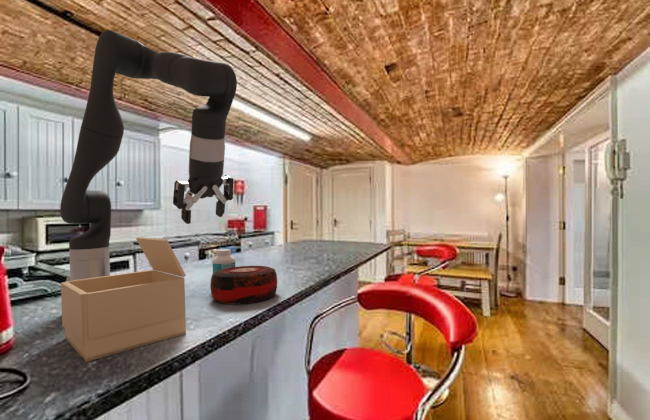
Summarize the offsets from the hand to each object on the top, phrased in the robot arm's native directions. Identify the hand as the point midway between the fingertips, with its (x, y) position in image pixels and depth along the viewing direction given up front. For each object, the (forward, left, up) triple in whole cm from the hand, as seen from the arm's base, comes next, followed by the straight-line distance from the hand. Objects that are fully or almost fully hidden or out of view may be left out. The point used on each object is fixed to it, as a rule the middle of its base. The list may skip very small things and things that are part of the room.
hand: (203, 219), depth 85 cm
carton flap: (-8, -6, -8) cm, 13 cm away
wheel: (+3, +21, -25) cm, 33 cm away
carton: (-13, -12, -24) cm, 30 cm away
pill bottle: (-7, +31, -25) cm, 40 cm away
